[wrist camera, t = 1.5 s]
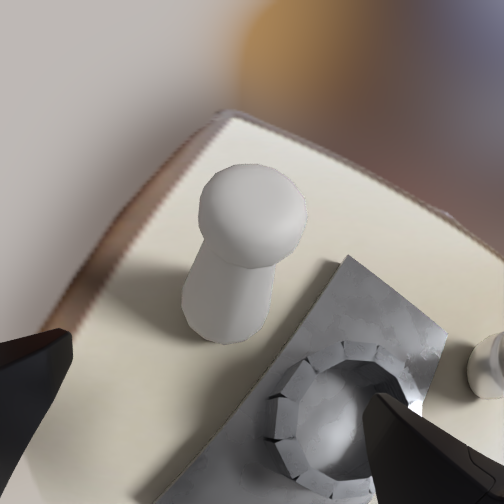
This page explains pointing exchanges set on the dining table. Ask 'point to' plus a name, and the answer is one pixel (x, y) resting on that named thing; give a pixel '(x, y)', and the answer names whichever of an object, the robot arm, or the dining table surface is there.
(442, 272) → the dining table surface
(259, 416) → the plate with ring
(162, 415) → the dining table surface
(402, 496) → the robot arm
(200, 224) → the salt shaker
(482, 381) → the plastic bottle
